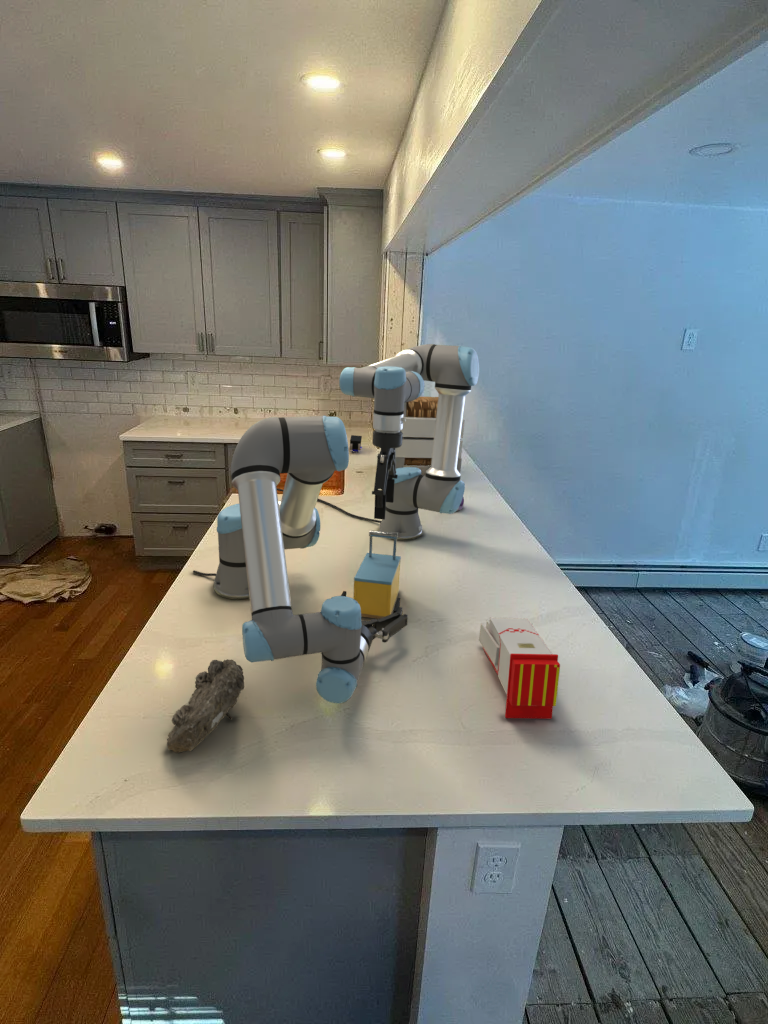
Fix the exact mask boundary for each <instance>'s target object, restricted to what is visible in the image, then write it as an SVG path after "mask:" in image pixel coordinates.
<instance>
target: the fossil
mask: <svg viewBox="0 0 768 1024" xmlns="http://www.w3.org/2000/svg"><path fill="white" fill-rule="evenodd" d="M243 670H244V669H243V667H242V665H240V664H237V662H236V661H235V660H234V659H232V658H231V659H227V658H226V659H224V660H223V661H222V660H217V659H212V660H211V661H210V663H209V665H208V666H207V671H201V672H199V673H198V674H197V675H196V676H195V680H194V684H195V685H194V687H195V689H194V690H193V693H192V694H191V697H190V698H189V700H188V704H184V705H182V706H181V707H180V709H177V710H176V711H175V713H174V715H173V716H172V718H171V723H172V724H173V727H172V730H171V731H170V732H168V734H167V738H166V741H167V742H166V745H167V749H168V750H169V751H173V752H174V753H176V754H178V753H182V752H188V751H189V752H192V751H193V750H195V748H196V747H197V746H199V744H200V743H201V742H203V741H204V740H205V739H206V738H207V737H208V736H209V735H210V734H211V733H212V732H214V730H215V729H217V727H218V726H219V724H220V722H221V721H222V720H223V719H224V718H225V716H226V717H227V719H229V720H233V717H232V715H230V714H229V710H230V709H231V708H234V706H235V704H236V703H237V702H238V699H239V697H240V695H241V693H242V691H243V690H245V689H244V688H245V675H244V671H243Z"/></svg>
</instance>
